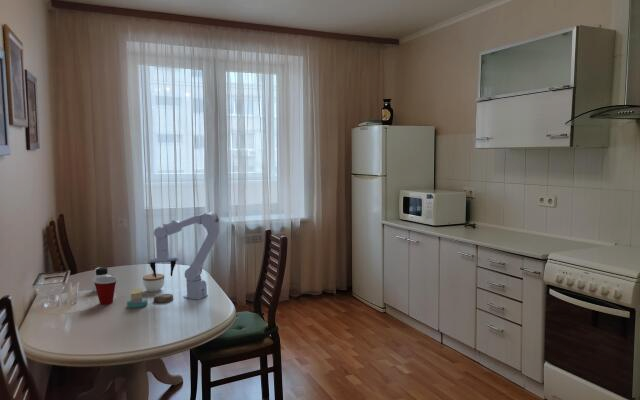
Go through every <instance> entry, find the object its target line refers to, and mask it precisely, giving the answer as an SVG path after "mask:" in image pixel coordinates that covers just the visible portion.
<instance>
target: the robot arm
mask: <svg viewBox="0 0 640 400" xmlns="http://www.w3.org/2000/svg"><path fill="white" fill-rule="evenodd" d="M194 224H198V225H202V226H203V227H204V228H205V230H206V232H207V234H206V235H207V236H206V237H205V238H204V241H203V242H202V245H200V246H201V247H200V248H199V250H198V253H197V254H196V256H195V257H194V260H193V261H192V263H191V264H190V266H189V267H188V268H187V269H186V270H185V272H184V278H185V279H186V281H185V282H186V283H185V284H186V295H184V296H183V298H185V299H191V300H197V301H198V300H200V299H202V298H205V297H207V296H208V292H207V290H208V289H207V282H206V281H205V280H203V279H202V276H201V275H202V273H203V267H204V264H205V261H206V259H207V257H208V255H209V254H210V252H211V250H212V248H213V247H214V244H215V243H216V240H217V239H218V236H219V235H220V218H219V216H218V215H217V213H216V212H215V211H209V212H203V213H200V214H196V215H193V216H192V217H191V216H190V217H189V218H187V219H184V220H182V221H180V220H175V219H173V220H171V222H169V223H164V224H162V225H160V226H157V227H156V228H155V229H154V230H153V236H154V237H155V246H156V247H155V249H156V250H155V251H156V258H149V259H147V264H148V265H149V266H150V268H151V270H152V273H154V276H155V278H156V274H157V270H156V264H157V263H158V264H160V263H170V277H173V273H174V269H175V267H176V264H177V263H178V262H179V257H178V256H172V257H171V256H170V255H169V236H171V235H174V234H176V233H179V232H182V230H183V228H185V227H189V226H191V225H194Z"/></svg>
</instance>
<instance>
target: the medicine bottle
mask: <svg viewBox="0 0 640 400" xmlns="http://www.w3.org/2000/svg"><path fill="white" fill-rule="evenodd" d="M94 272H95V274H94V275H95V276H94V277H91V284H92V286H91V287H92V292H97V290H96V287H95V283H94V282H93V280H94V279H95V278H99V277H112V275H111V274H109V273H108V267H105V266H100V267H96V268H95V269H94Z"/></svg>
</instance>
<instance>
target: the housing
mask: <svg viewBox="0 0 640 400" xmlns="http://www.w3.org/2000/svg"><path fill="white" fill-rule="evenodd" d="M130 292H131V293H130V295H131V296H130V300H131V302H132V304H138V303H142V298H143V288H138V289H135V288H134V289H131V291H130Z"/></svg>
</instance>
